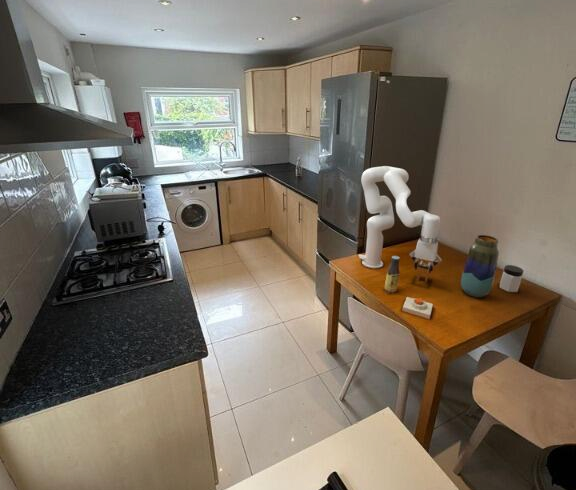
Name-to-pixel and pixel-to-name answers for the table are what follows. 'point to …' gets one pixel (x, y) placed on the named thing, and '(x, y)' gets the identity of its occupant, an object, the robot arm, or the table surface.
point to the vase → (480, 266)
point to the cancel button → (418, 301)
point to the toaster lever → (424, 266)
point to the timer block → (417, 308)
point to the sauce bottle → (392, 275)
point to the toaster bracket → (426, 272)
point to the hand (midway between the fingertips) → (422, 270)
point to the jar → (511, 278)
